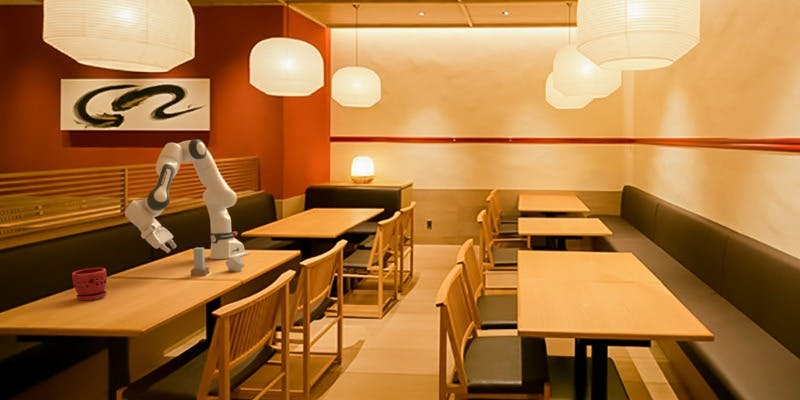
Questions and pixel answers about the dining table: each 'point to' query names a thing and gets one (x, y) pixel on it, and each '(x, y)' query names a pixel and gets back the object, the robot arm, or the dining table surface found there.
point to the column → (199, 258)
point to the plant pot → (90, 283)
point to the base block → (200, 272)
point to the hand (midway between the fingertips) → (172, 249)
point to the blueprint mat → (200, 276)
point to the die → (235, 263)
